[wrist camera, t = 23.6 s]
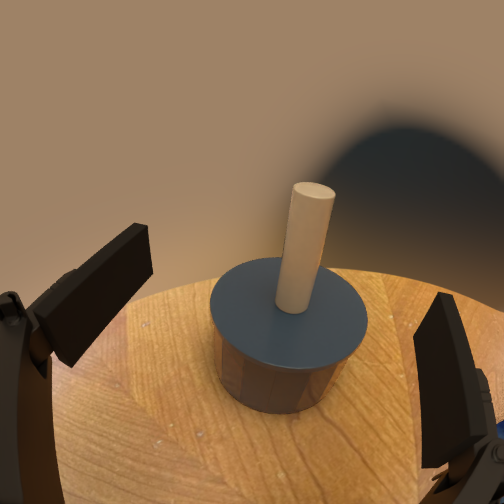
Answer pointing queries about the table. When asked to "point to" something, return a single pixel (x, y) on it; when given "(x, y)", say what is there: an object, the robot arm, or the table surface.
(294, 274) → the lid
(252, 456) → the table surface
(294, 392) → the pot
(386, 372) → the table surface
